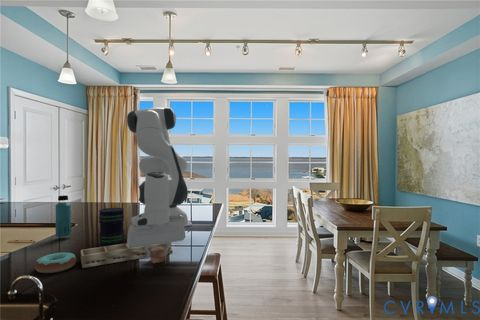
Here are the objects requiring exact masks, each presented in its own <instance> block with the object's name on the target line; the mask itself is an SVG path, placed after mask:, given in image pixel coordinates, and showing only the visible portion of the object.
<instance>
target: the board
mask: <svg viewBox="0 0 480 320" xmlns="http://www.w3.org/2000/svg"><path fill="white" fill-rule="evenodd" d="M160 247H162V248H163V249H165V247H166V244H165V243H162V244H155V245H149V248H147V249H148V250H149V252H150V249H153V248H160ZM168 254H173V249H172V244H171V245H170V247H169V249H168ZM143 258H148V257H147V252H146V250H145V249H144V246H142V247H135V248H130V247H129V246H128V245H127V242H126V243H123V244H119V245H112V246H104V247H101V246H99V247H97V246H96V247H92V248H86V249H80V262H81V263H80V264H81V267H82V269H85V268H90V267H96V266H103V265H108V264H113V263H120V262H125V261H132V260H139V259H143Z"/></svg>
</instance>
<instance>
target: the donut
mask: <svg viewBox="0 0 480 320" xmlns="http://www.w3.org/2000/svg"><path fill="white" fill-rule="evenodd" d="M76 262H77V257H76V255H75V253H72V252H56V253H50V254H46V255H44V256H41V257H39V258H38V259H37V260H36V261H35V263H34V269H35V270H36V272H38V273H42V274H54V273H60V272H64V271H67V270H69V269H71V268H73V267H74V266H75V265H76Z"/></svg>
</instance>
